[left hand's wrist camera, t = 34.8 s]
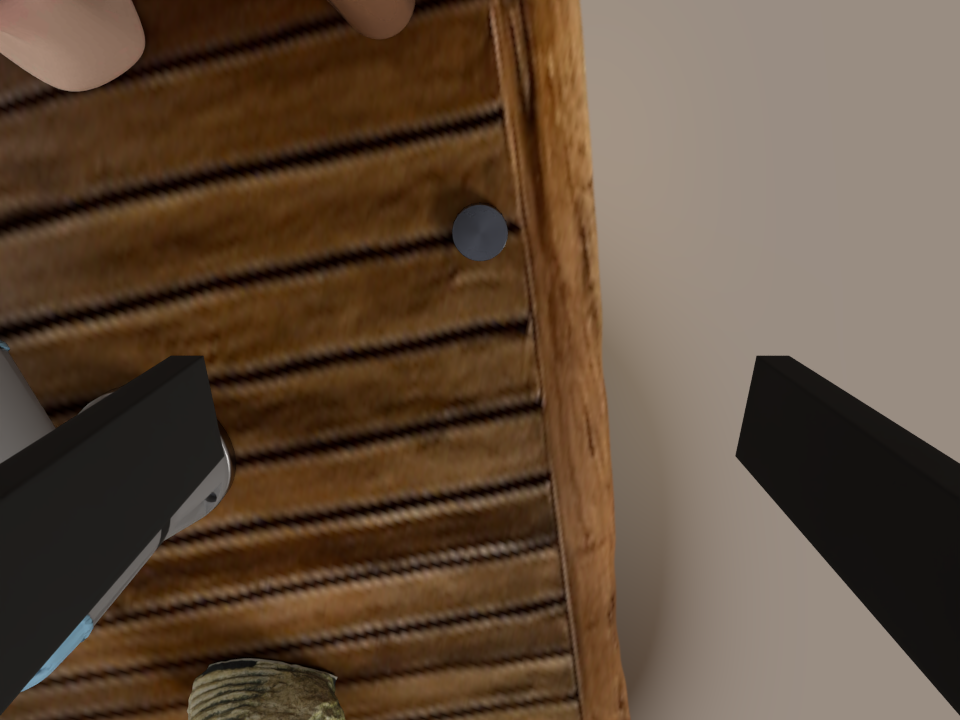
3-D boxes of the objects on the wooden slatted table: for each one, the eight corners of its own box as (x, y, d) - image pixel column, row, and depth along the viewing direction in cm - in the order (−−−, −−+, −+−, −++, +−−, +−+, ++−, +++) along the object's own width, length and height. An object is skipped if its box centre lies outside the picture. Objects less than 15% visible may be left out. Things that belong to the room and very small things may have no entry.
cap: (452, 202, 43) (450, 204, 41) (507, 201, 43) (508, 203, 41) (453, 257, 44) (452, 261, 43) (506, 257, 44) (508, 261, 43)
